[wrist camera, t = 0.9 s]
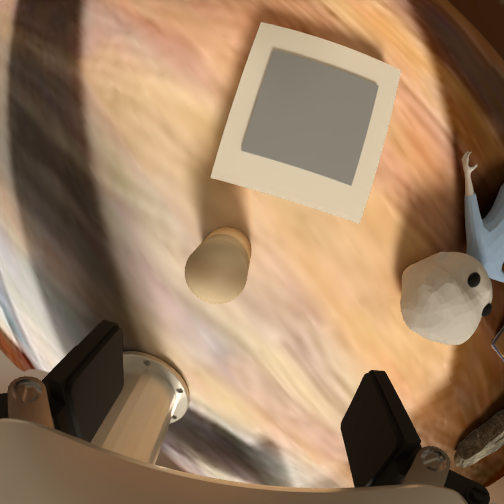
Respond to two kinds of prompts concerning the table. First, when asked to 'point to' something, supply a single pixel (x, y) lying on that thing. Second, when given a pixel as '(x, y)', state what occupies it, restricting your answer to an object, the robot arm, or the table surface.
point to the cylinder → (219, 266)
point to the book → (499, 343)
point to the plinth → (308, 122)
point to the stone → (481, 441)
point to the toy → (457, 276)
